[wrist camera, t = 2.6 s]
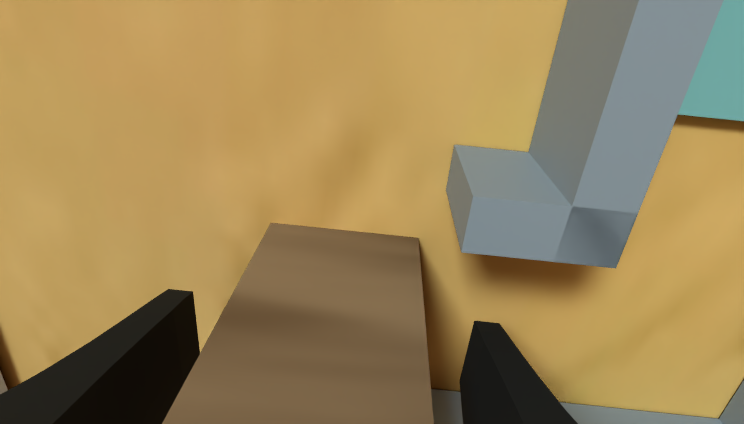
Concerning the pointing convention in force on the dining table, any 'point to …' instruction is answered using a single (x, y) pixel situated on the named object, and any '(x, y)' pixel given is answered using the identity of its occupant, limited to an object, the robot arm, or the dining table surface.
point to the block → (317, 336)
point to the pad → (720, 69)
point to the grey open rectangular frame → (586, 157)
